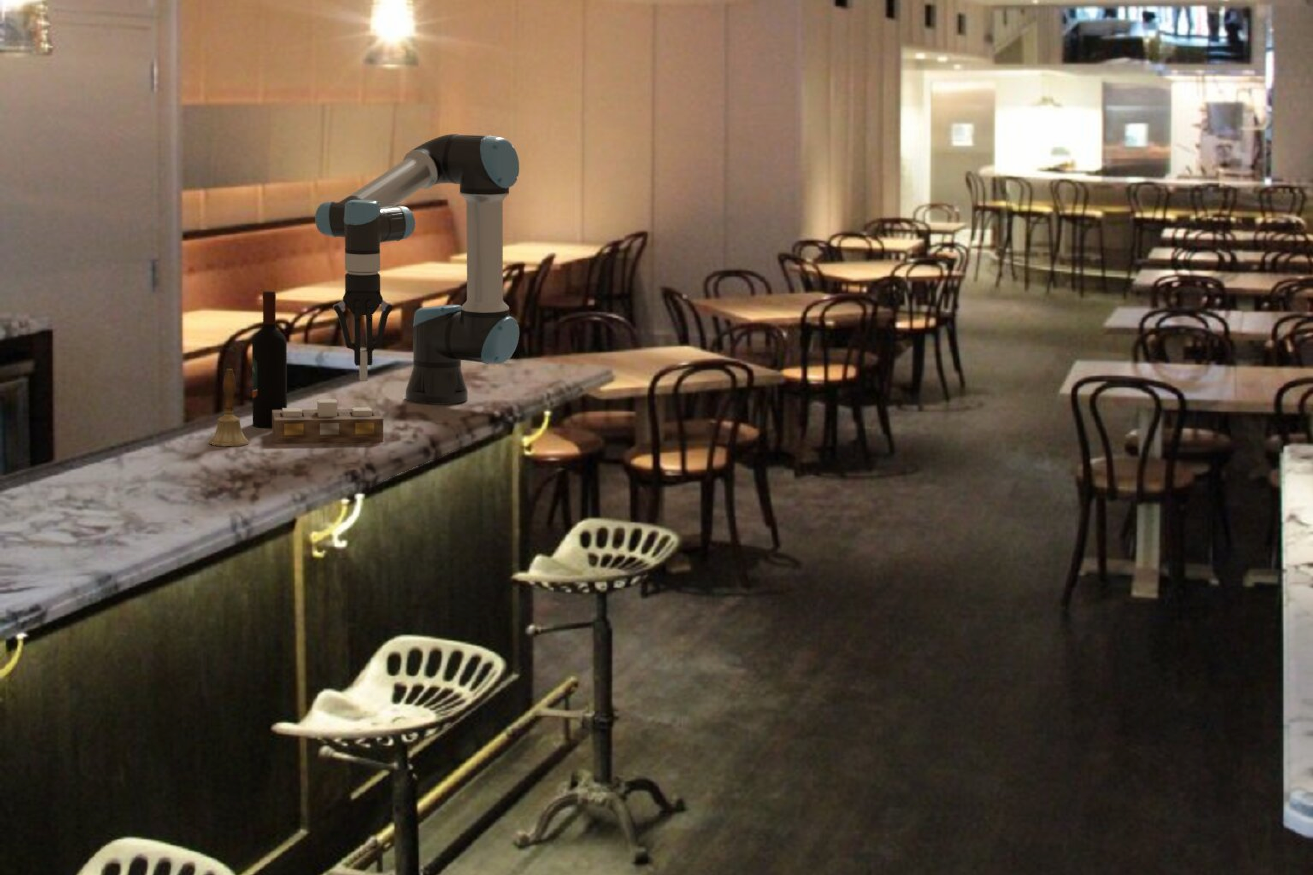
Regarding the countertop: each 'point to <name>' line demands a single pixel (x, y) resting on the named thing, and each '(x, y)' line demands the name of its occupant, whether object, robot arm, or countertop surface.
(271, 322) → the wine bottle
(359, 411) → the inner button
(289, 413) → the outer button
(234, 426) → the hand bell
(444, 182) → the robot arm
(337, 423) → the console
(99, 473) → the countertop surface
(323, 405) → the middle button
